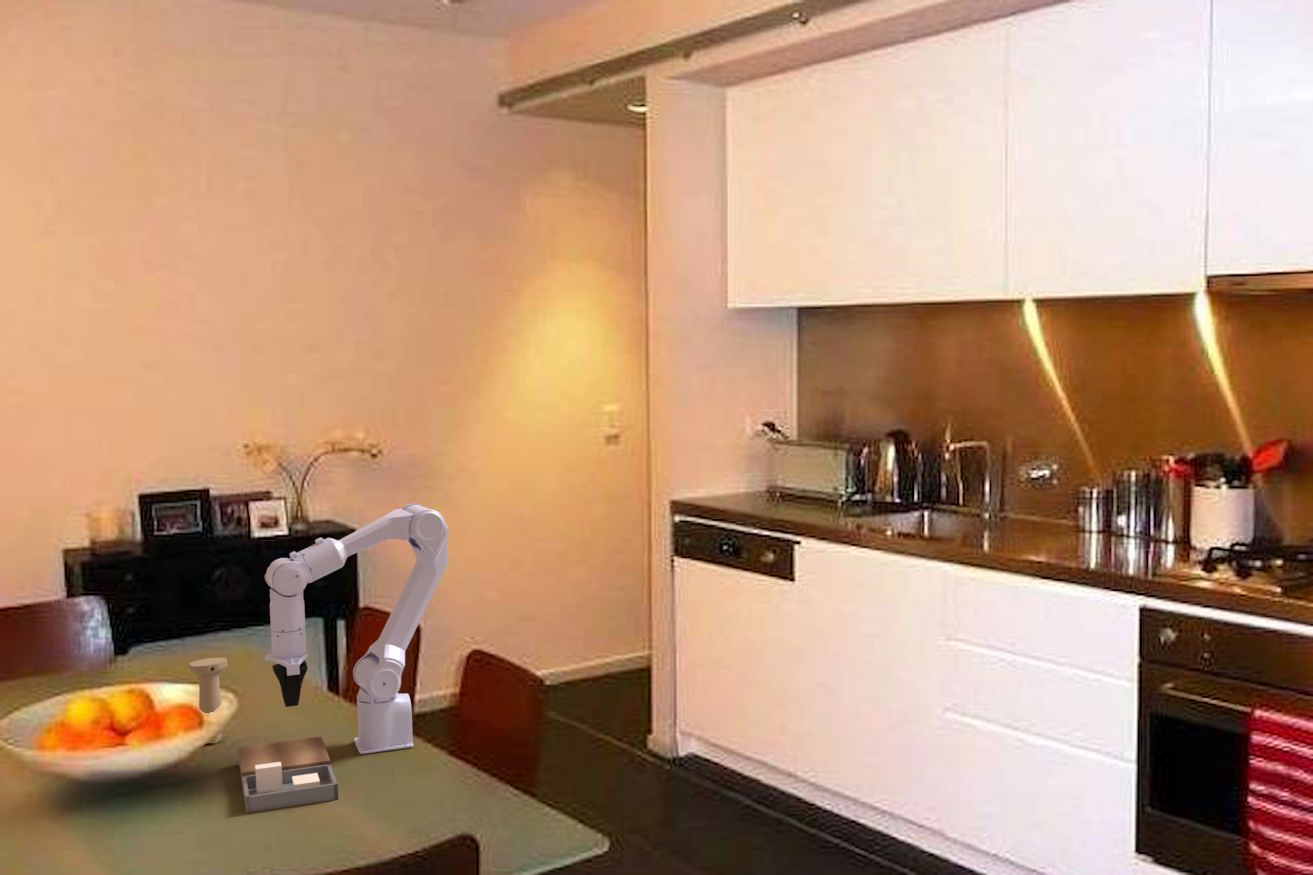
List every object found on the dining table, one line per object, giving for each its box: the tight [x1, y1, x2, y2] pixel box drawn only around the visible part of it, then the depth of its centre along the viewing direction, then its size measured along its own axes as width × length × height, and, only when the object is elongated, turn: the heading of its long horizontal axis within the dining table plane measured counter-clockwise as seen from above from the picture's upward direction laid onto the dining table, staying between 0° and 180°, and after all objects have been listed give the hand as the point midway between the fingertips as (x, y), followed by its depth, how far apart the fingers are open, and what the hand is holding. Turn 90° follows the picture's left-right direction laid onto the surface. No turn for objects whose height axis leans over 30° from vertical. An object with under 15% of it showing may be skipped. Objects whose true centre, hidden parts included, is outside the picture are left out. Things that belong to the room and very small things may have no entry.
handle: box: [188, 657, 228, 744], centre depth 223 cm, size 5×6×15 cm
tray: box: [241, 763, 339, 814], centre depth 198 cm, size 14×10×2 cm
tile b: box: [255, 762, 283, 793], centre depth 199 cm, size 4×4×2 cm
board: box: [237, 736, 331, 789], centre depth 209 cm, size 14×13×3 cm
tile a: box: [292, 773, 320, 789], centre depth 198 cm, size 4×4×2 cm
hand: (291, 705), depth 213 cm, fingers closed
